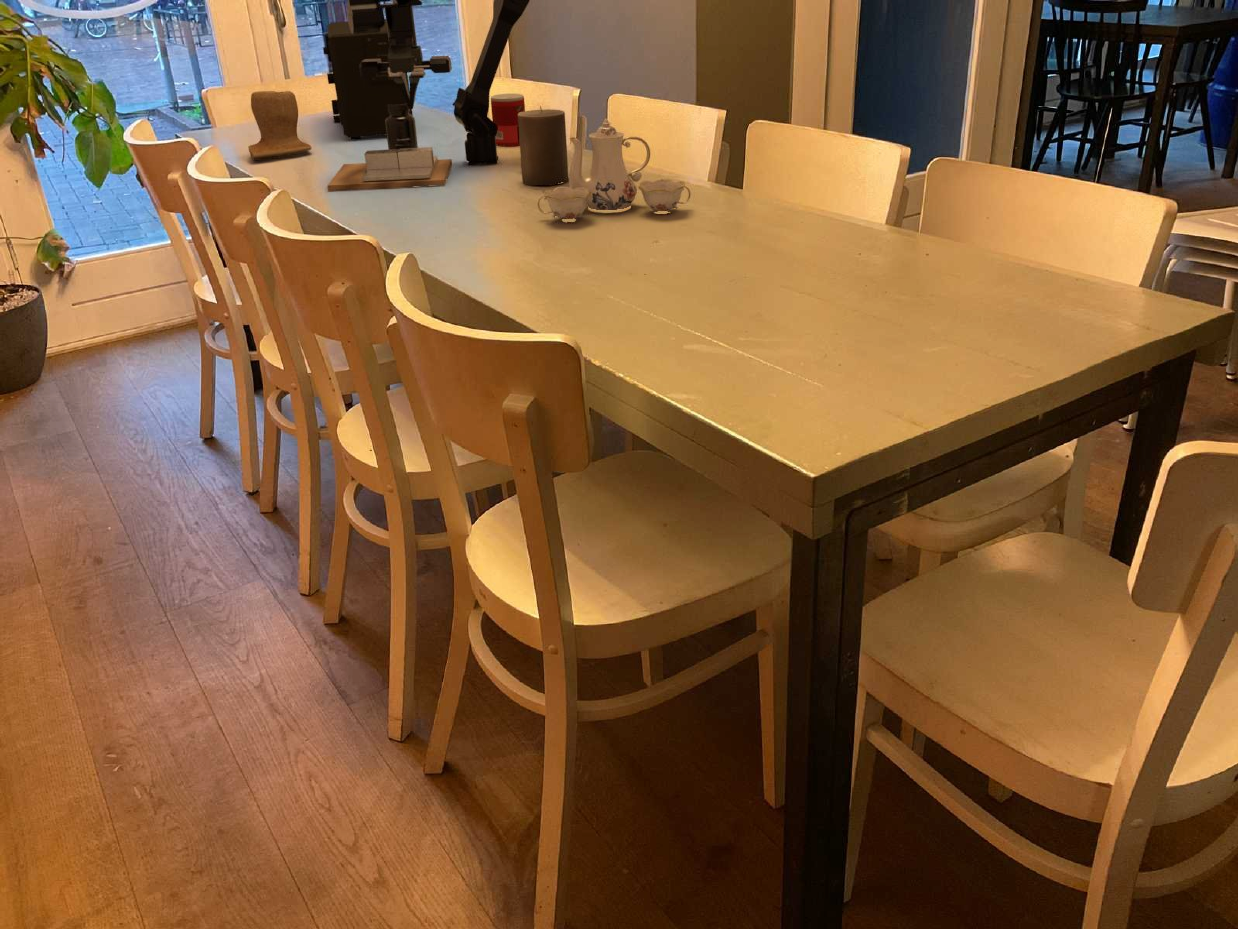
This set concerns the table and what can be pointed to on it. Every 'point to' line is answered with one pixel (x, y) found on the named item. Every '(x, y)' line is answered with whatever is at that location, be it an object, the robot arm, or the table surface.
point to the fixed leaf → (416, 158)
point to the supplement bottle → (400, 127)
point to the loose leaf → (390, 167)
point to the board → (352, 180)
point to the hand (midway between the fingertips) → (411, 108)
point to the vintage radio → (360, 80)
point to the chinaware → (609, 180)
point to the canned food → (507, 117)
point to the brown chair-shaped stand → (276, 125)
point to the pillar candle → (543, 147)
